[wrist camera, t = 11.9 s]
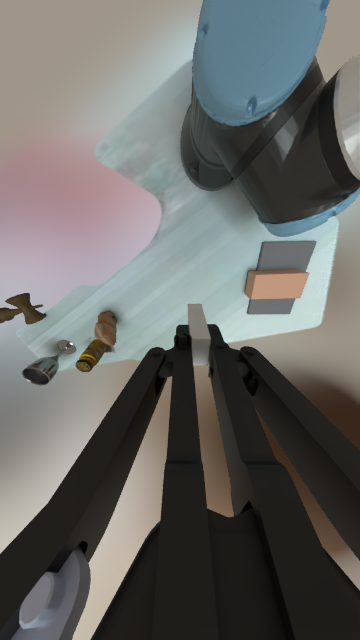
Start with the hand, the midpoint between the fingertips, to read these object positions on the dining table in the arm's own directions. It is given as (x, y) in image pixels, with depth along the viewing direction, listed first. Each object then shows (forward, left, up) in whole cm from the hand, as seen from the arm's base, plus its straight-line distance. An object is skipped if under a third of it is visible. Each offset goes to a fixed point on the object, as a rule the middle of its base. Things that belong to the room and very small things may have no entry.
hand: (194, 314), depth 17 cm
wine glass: (+31, -49, -33) cm, 67 cm away
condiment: (+30, -34, -33) cm, 56 cm away
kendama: (+13, -57, -33) cm, 67 cm away
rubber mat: (+5, +28, -32) cm, 43 cm away
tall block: (+5, +18, -29) cm, 34 cm away
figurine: (+18, -26, -33) cm, 45 cm away
